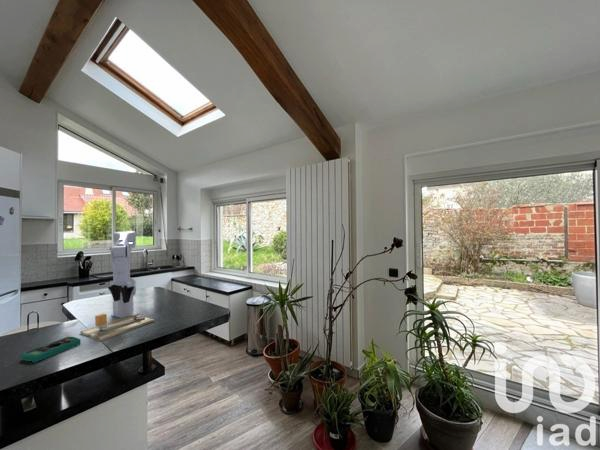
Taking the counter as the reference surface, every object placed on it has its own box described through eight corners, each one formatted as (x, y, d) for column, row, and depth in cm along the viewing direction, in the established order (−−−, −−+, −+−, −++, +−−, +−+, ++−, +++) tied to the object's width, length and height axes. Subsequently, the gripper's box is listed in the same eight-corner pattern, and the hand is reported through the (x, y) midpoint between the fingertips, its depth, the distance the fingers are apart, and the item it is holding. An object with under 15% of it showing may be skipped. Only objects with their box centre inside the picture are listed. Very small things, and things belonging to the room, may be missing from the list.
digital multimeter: (82, 344, 102) (82, 336, 102) (34, 364, 88) (34, 355, 88) (69, 342, 105) (69, 335, 105) (20, 361, 90) (20, 353, 90)
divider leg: (95, 331, 111) (94, 315, 111) (103, 328, 114) (103, 313, 114) (102, 333, 108) (102, 317, 108) (111, 330, 111) (110, 315, 111)
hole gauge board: (80, 333, 112) (80, 325, 112) (133, 316, 131) (133, 309, 131) (100, 340, 104) (100, 331, 104) (153, 321, 124) (153, 313, 124)
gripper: (102, 272, 121) (103, 302, 121) (120, 274, 114) (121, 305, 114) (118, 270, 127) (119, 298, 127) (136, 271, 121) (137, 301, 121)
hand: (121, 301), depth 121 cm, fingers open, 7 cm apart
